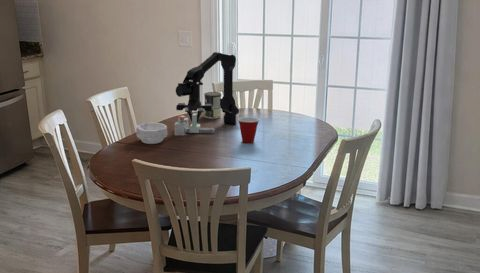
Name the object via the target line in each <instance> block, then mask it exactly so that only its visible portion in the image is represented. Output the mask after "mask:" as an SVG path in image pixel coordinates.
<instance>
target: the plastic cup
mask: <svg viewBox="0 0 480 273" xmlns="http://www.w3.org/2000/svg"><path fill="white" fill-rule="evenodd" d="M237 121H238V124H239V128H240V135H241V141H242V143H244V144H253V143H254V141H255V139H256V138H255V137H256V133H257V128H258V125H259V122H260V118H256V117H239V118H237Z"/></svg>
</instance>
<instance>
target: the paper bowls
mask: <svg viewBox="0 0 480 273" xmlns="http://www.w3.org/2000/svg"><path fill="white" fill-rule="evenodd" d="M135 129H136V130H135V134H136V138H138V139H140V140H141V142H142V143H144V144H146V145H147V144H148V145H155V144H159V143H162V142H163V140H164V139H165V138H167V136H168V126H167V125H166V124H164V123H161V122H146V123H140V124H138V125H136V127H135Z"/></svg>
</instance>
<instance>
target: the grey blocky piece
mask: <svg viewBox="0 0 480 273" xmlns="http://www.w3.org/2000/svg"><path fill="white" fill-rule="evenodd" d="M189 119H190V117H185V118H184V122H179V118H178V119H177V121H176V122H174V136H185V135H186V134H187V128H190V125H189Z"/></svg>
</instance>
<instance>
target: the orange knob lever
mask: <svg viewBox="0 0 480 273" xmlns="http://www.w3.org/2000/svg"><path fill="white" fill-rule="evenodd" d="M177 118H178V119H179V122H184V118H186V116H185V115H178V116H177Z"/></svg>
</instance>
